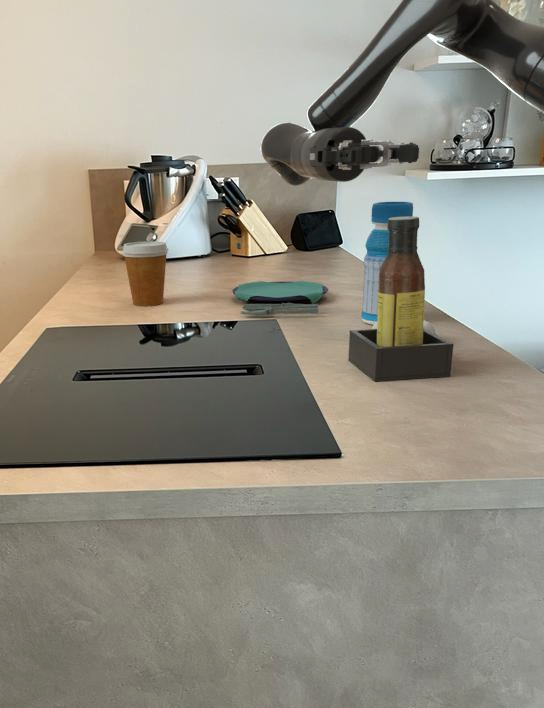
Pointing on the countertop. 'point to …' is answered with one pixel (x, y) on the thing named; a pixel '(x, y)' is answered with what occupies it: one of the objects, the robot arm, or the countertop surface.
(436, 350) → the box
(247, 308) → the cutlery set
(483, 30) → the robot arm
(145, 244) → the disposable coffee cup
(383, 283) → the sauce bottle
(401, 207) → the beverage bottle
